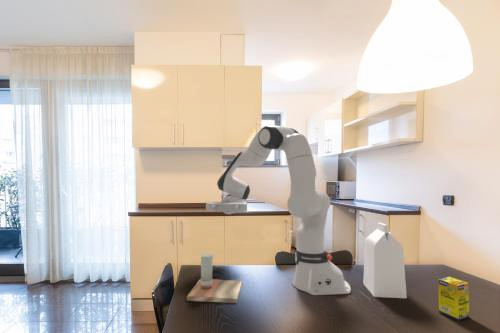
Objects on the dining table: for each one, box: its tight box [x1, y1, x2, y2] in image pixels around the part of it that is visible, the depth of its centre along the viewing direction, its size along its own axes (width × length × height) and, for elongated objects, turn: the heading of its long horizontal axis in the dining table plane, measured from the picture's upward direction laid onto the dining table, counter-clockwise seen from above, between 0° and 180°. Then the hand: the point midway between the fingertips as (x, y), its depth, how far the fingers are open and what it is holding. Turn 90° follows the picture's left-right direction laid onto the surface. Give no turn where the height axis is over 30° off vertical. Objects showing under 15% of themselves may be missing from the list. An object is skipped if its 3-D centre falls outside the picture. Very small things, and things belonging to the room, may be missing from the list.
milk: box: [363, 222, 408, 299], centre depth 103 cm, size 12×12×26 cm
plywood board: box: [186, 278, 243, 304], centre depth 101 cm, size 18×16×2 cm
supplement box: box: [437, 276, 470, 322], centre depth 84 cm, size 6×6×11 cm
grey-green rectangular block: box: [200, 253, 214, 290], centre depth 101 cm, size 4×4×12 cm
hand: (223, 208), depth 121 cm, fingers open, 8 cm apart
